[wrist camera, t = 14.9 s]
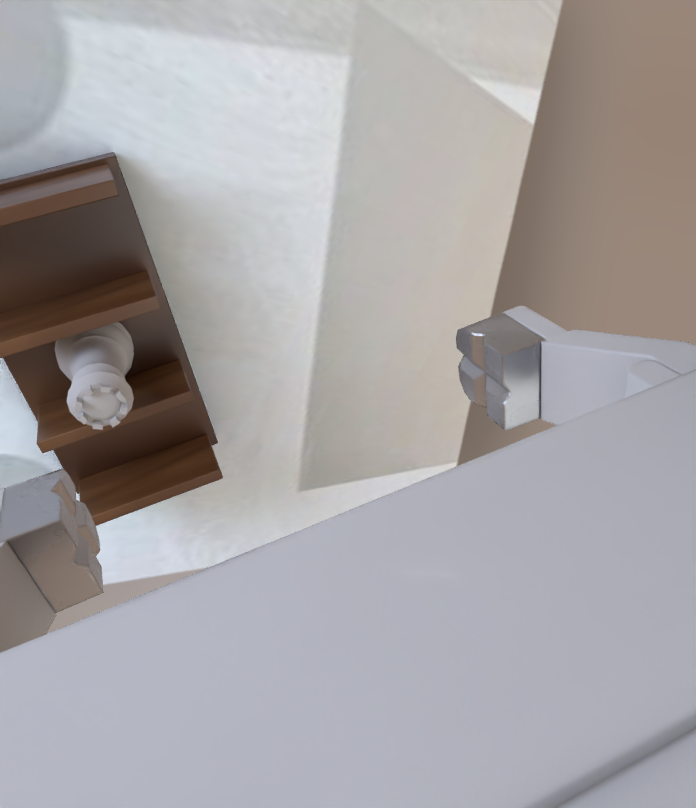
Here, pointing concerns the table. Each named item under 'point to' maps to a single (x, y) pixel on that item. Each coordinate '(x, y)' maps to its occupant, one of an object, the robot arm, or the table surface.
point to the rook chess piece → (98, 374)
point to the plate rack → (89, 309)
